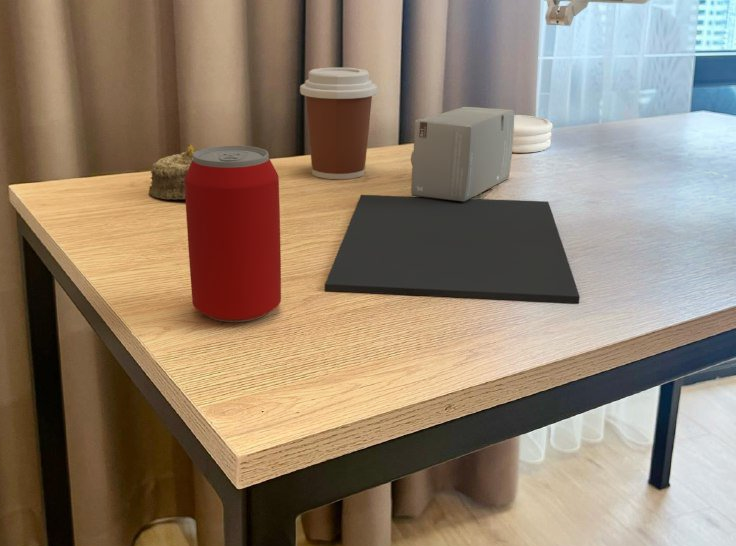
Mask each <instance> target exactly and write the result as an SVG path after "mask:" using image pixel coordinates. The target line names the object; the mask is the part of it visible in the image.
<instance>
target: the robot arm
mask: <svg viewBox="0 0 736 546" xmlns="http://www.w3.org/2000/svg"><path fill="white" fill-rule="evenodd" d="M649 1H650V0H545V2H547V10H546V13H545V17H544V19H545V22H546V25H547V26H563V27H564V26H565V27H571V25H572V22H573V20H574V18H575V17H576V16H578V14H580V13H581V12H582V11H584V9H586V8H587V7H588V5H589V3H603V4H604V3H606V4H634V5H644V4H647V3H648V2H649ZM560 2H568V4H567V5H560Z"/></svg>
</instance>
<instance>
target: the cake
mask: <svg viewBox="0 0 736 546" xmlns="http://www.w3.org/2000/svg"><path fill="white" fill-rule="evenodd" d="M194 152H196V151H195V150H194V147H193V145H192V143H190V144H189V145H188V146H187V147H186V151H185V152H181V153H180V154H179V153H177V154H172V155H167V156H165V157H162V158H159V159H158V160H156V162H154V163H153V164H152V170H150V174H151V177H150V179H151V181H150V185H149V186H148V195H149V196H152V198H156V199H161V200H180V201H181V200H186V198H185V179H184V178H185V175H186V173H187V171H188V169H189V166H190V164H191V162H192V160H193V153H194Z"/></svg>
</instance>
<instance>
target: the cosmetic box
mask: <svg viewBox="0 0 736 546" xmlns="http://www.w3.org/2000/svg"><path fill="white" fill-rule="evenodd" d="M514 115H515V111H514V110H513V109H506V108H505V109H503V108H490V107H488V108H487V107H474V106H462V107H458V108H454V109H452V110H448V111H445V112H442V113H438V114H435V115H432V116H428V117H424V118H420V119H415V121H414V133H413V134H414V135H413V137H414V138H413V150H412V152H411V155H410V163H411V166H412V169H411V187H410V193H411V197H425V198H434V199H444V200H454V201H463V202H465V201H466V200H468V199H473V198H474V197H475V196H478V195H480V194H482V193H483V192H485V191H487V190H489V189H491V188H493V187H495V186H497V185H498V184H501V183H503V182H505V181H507V180H508V179H509V178H510V173H511V165H512V157H513V156H512V155H513V153H512V147H513V134H514Z"/></svg>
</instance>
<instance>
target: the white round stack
mask: <svg viewBox="0 0 736 546" xmlns="http://www.w3.org/2000/svg"><path fill="white" fill-rule="evenodd" d="M553 128H554V125H553V123H552V122H551V120H549V119H547V118H543V117H539V116H536V115H535V116H534V115H525V114H514V134H513V147H512V154H514V153H515V154H521V153H522V154H524V153H537V152H543V151H545V150H548V149H549V148H550V147H551V145H552V140H551V139H552V136H553V132H552V130H553Z"/></svg>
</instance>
